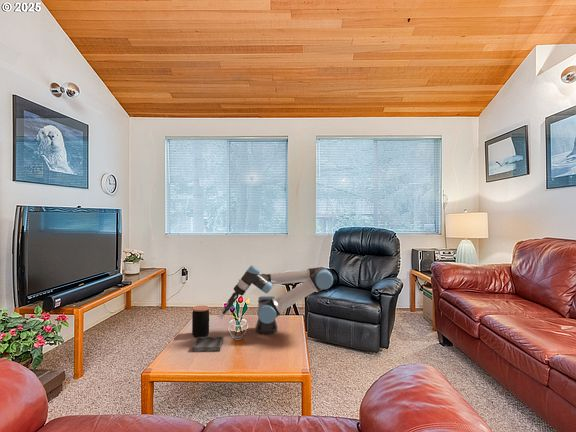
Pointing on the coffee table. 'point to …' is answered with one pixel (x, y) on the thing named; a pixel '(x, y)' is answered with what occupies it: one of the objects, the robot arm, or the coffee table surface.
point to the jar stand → (207, 344)
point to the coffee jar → (200, 321)
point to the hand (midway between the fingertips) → (221, 314)
